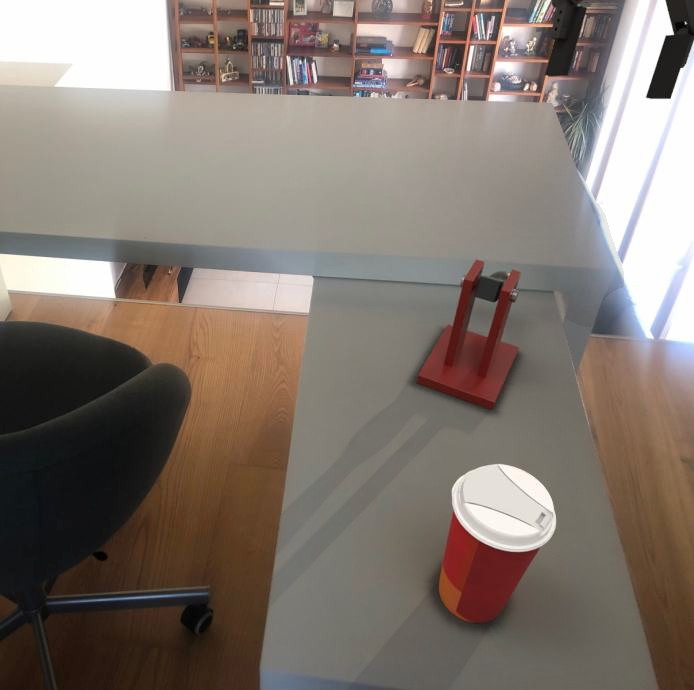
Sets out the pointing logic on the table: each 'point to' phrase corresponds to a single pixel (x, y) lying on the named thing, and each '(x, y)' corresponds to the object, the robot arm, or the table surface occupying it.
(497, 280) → the lever
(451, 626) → the table surface
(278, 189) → the table surface
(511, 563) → the paper cup
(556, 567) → the table surface
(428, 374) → the bracket
